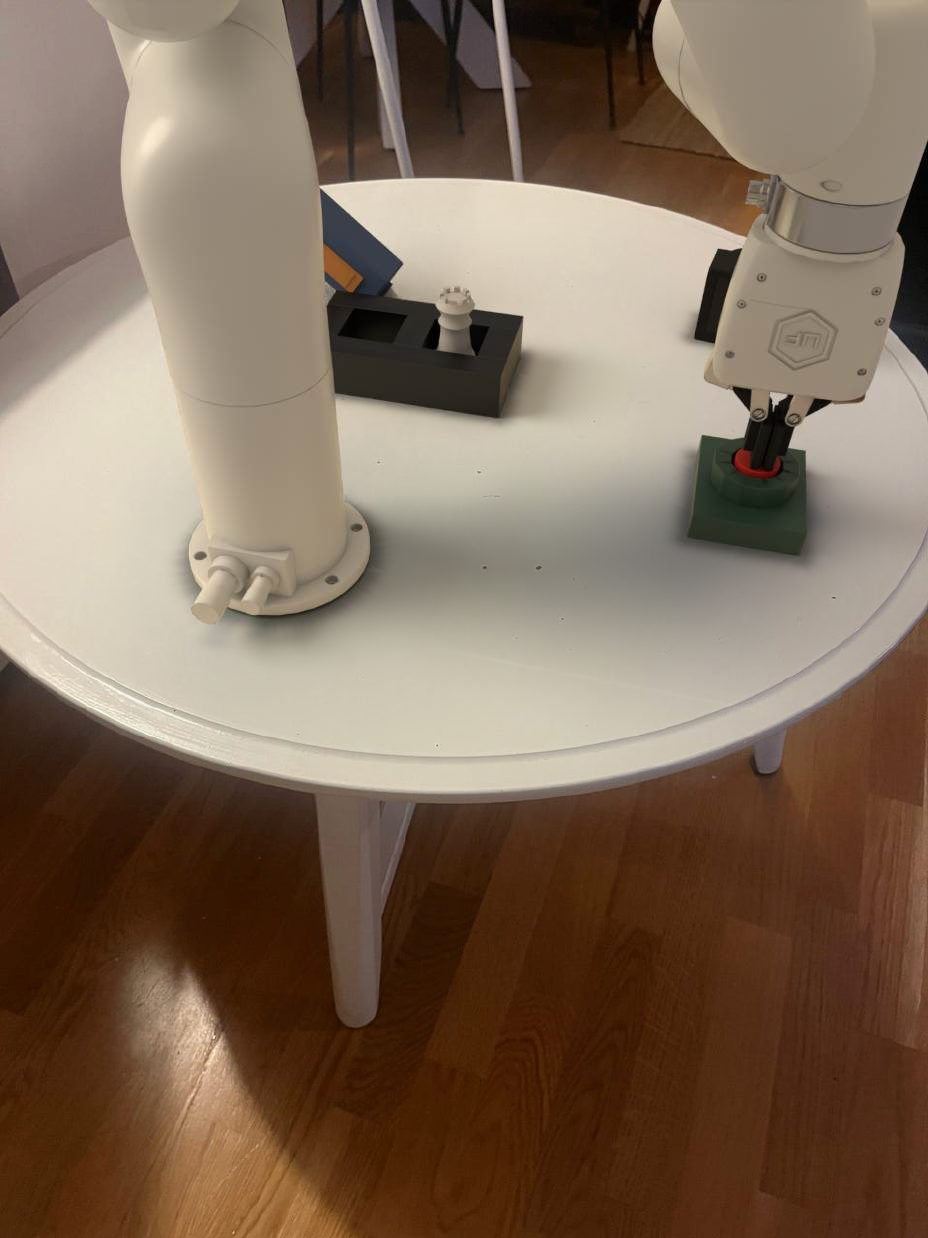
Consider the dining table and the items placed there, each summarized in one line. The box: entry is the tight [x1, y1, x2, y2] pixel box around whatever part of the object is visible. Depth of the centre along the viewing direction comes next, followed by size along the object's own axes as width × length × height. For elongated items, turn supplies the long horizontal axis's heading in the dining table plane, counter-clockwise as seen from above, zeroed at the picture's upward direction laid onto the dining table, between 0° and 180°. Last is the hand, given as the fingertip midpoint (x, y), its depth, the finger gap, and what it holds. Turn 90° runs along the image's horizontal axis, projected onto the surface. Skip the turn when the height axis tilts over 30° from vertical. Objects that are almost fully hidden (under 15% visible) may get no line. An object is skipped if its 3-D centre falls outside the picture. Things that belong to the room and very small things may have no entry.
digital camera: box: [693, 247, 743, 343], centre depth 88 cm, size 10×5×7 cm, turn 69°
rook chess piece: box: [434, 285, 476, 356], centre depth 82 cm, size 4×4×8 cm
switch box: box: [686, 434, 808, 557], centre depth 73 cm, size 10×8×4 cm
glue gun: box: [319, 186, 404, 299], centre depth 91 cm, size 6×31×15 cm
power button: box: [733, 448, 780, 479], centre depth 72 cm, size 3×3×2 cm
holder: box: [326, 290, 524, 419], centre depth 84 cm, size 10×17×4 cm, turn 77°
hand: (761, 458), depth 71 cm, fingers closed
